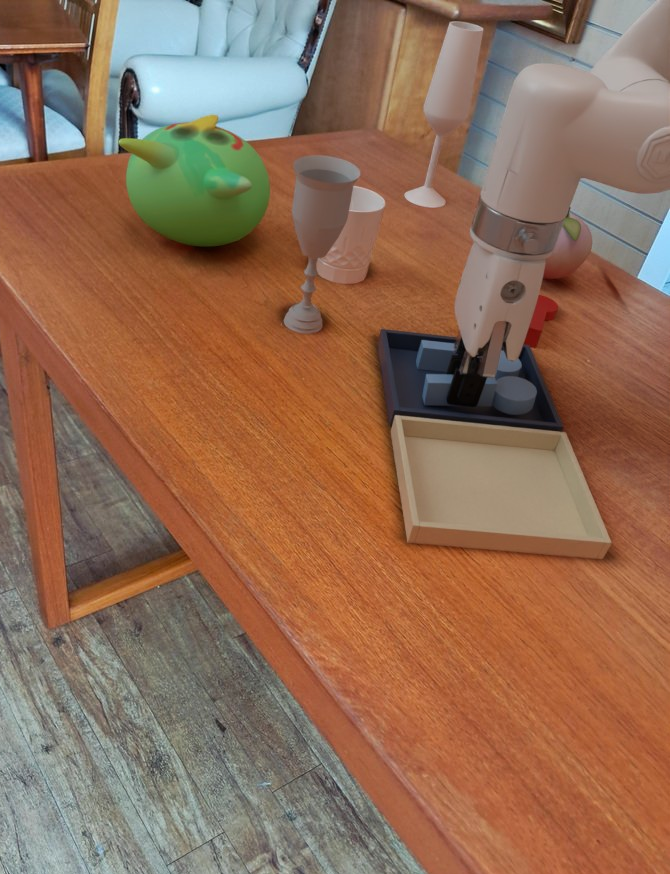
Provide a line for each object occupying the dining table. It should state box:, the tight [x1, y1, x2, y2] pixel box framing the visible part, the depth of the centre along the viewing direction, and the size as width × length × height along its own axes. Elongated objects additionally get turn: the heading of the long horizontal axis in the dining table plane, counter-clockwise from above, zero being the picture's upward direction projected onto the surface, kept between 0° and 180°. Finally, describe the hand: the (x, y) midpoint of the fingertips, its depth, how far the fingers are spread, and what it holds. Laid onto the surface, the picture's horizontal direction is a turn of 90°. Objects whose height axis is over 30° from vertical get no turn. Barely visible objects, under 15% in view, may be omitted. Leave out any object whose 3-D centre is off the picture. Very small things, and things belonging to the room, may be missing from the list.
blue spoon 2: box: [422, 374, 537, 415], centre depth 81 cm, size 11×4×3 cm, turn 90°
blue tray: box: [376, 328, 564, 432], centre depth 84 cm, size 17×15×2 cm
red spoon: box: [523, 294, 559, 349], centre depth 97 cm, size 11×4×3 cm, turn 160°
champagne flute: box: [403, 20, 484, 209], centre depth 116 cm, size 7×7×24 cm
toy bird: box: [117, 114, 271, 248], centre depth 99 cm, size 18×17×15 cm
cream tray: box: [390, 415, 613, 560], centre depth 72 cm, size 17×15×2 cm
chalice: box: [280, 154, 361, 334], centre depth 85 cm, size 7×7×18 cm
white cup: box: [316, 185, 387, 285], centre depth 98 cm, size 8×8×10 cm
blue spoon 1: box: [416, 340, 522, 380], centre depth 87 cm, size 11×4×3 cm, turn 90°
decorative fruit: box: [542, 206, 593, 280], centre depth 105 cm, size 9×8×10 cm
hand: (459, 396), depth 81 cm, fingers closed on blue spoon 2
